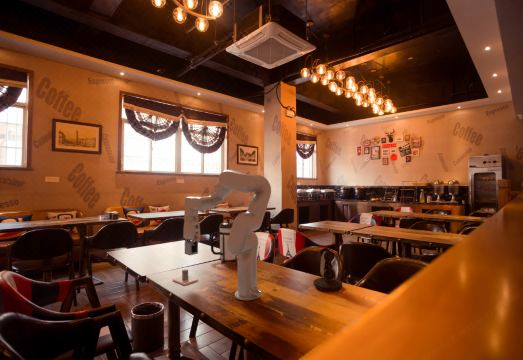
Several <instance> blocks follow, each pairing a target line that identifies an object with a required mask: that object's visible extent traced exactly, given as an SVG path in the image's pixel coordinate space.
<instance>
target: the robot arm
mask: <svg viewBox="0 0 523 360" xmlns="http://www.w3.org/2000/svg"><path fill="white" fill-rule="evenodd" d="M213 191H214V192H213V193H212V194H209V195H207V196H206V195H205V196H186V197H184V212H183V213H184V219H183V221H184V222H183V235H182V238H183V240H184V243H185V242H187V241H192V253H194V252H197V245H198V246H199V243H200V241H201V226H200V221H199V212H202V211H210V210H212V209H215V208H216V207H217V206H219V205H220V204H222V203H223V202H224V200H225V198H226V197H227V196H229V195H230V194H231V193H233V192H234V191H237V192H239V193H246V194H247V193H249V194H250V193H254V194H253V196H252V197H251V200H250V201H249V205H248V206H247V207H248V208H247V210H246V211H245V212H242V213H240V214H238V215H237V216H236V217H235V218H234V220H233V221H232V222H233V225H232V228H231V231H230V235H229V238H228V243H227V245H228V249H229V251H230V252H231V253H232V254H234V255H237V259H238V260H236V261H237V290H236V291H235V292H234V298H236V299H237V300H239V301H240V300H241V301H253V300H256V299H258V298H261V296H262V294H263V291H262V290H260V289H259V286H258V277H257V276H258V275H257V273H258V270H257V268H258V266H257V263H258V262H257V259H258V258H257V257H258V255H257V254H258V248H259V238H258V235H257V234H256V233H255V231H257V230H259V229H260V228H261V226H262V223H263V220H264V217H265V215H266V211H267V208H268V204H269V202H270V199H271V195H272V186H271V183H270V182H269V180H268V179H267V178H266V177H265V176H264V175H263V176H262V175H260V174H246V173H243V172H241V171H240V170H235V169H226V170H223V171H221V173H220V174H219V175H218V181H217V182H216V183H214V185H213ZM194 241H195V242H194Z"/></svg>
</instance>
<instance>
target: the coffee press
mask: <svg viewBox="0 0 523 360" xmlns="http://www.w3.org/2000/svg"><path fill="white" fill-rule="evenodd" d="M233 222H234V221H230V219H229V218H226V221H224V222H221V223H220V224H219V226H218V227H219V231H215V232H213V233H212V234H211V236H210V251H211V253H212V254H213V255H218V256H219V260H221V263H222V264H225V263H226V261H235V262H237V260H238V255H234V254H232V253H231V252H230V251H229V249H228V245H227V243H228V238H229V235H230V231H231V228H232V225H233ZM216 235H219V251H218V252H217V251H215V250H214V238H215V236H216Z"/></svg>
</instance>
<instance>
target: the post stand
mask: <svg viewBox="0 0 523 360" xmlns="http://www.w3.org/2000/svg"><path fill="white" fill-rule="evenodd" d="M181 272H182V273H181V276H178V277H175V278H172V281H173V282H175V283H177V284H178V285H181V286H187V285H190V284H194V283H197V282H199V279H197V278H195V277H192V276H190V275H189V269H182V271H181Z"/></svg>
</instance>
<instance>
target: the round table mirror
mask: <svg viewBox="0 0 523 360" xmlns="http://www.w3.org/2000/svg"><path fill="white" fill-rule="evenodd" d="M319 255H320V256H321V258H320V266H319V267H320V268H319V269H320V275H321V276H322V277H321V276H320V277H317V278H316V279H314V280H313V286H315V287H316V288H318V289H320V292H323V290H327V291H334V290H335V291H336V290H339V291H341V290H342V288H343V282H342V281H341V280H340V279H337V278H335V276H336V272H335V270H333V269H332V268H333V265H332V264H333V263H332V262H333V261H334V259H335V253H334V252H333V251H332V250H330V249H329V248H328V247H324V248H322V249H321V250H320V251H319Z"/></svg>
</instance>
